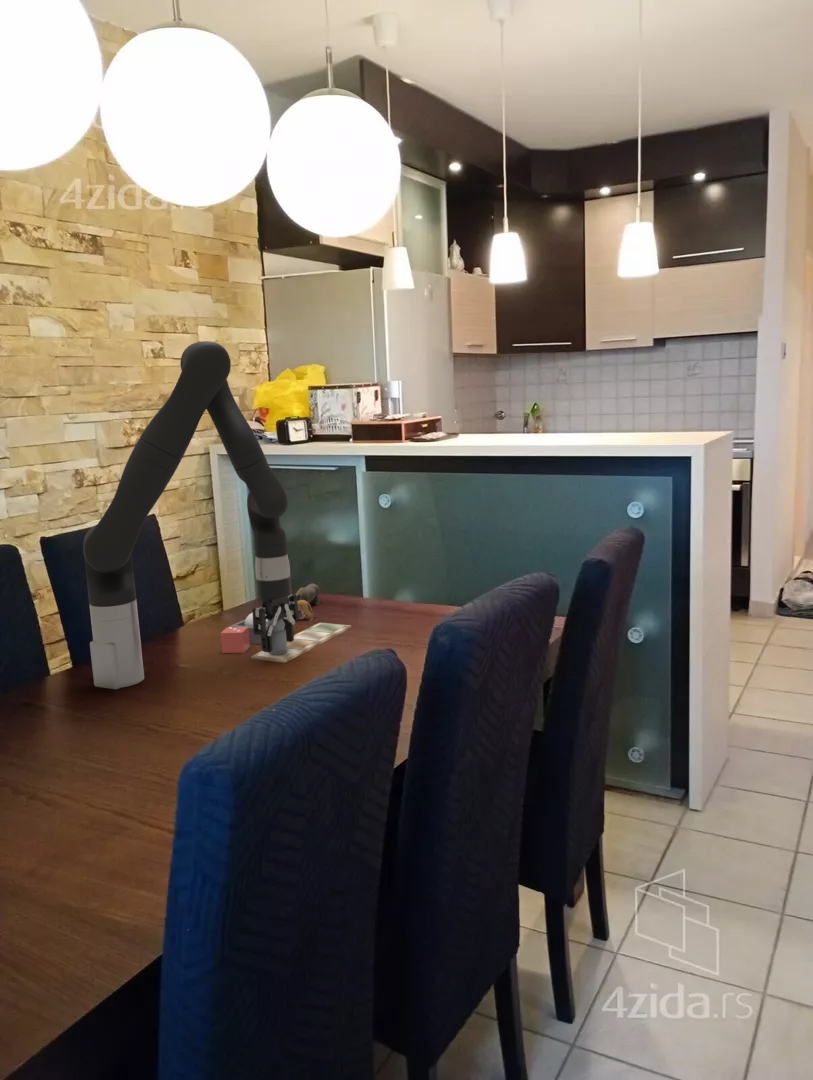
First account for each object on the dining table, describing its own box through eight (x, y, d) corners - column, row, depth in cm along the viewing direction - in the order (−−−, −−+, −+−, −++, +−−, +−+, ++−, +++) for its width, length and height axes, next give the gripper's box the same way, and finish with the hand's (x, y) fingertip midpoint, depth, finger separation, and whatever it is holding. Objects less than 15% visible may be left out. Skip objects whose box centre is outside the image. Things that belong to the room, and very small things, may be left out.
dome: (261, 640, 205) (259, 616, 204) (240, 638, 207) (238, 614, 206) (275, 633, 210) (273, 609, 209) (255, 631, 213) (253, 608, 212)
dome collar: (262, 645, 203) (261, 629, 202) (231, 642, 207) (229, 625, 206) (285, 634, 211) (283, 619, 210) (254, 631, 215) (252, 616, 214)
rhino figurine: (285, 614, 231) (283, 592, 230) (311, 601, 243) (310, 581, 242) (298, 615, 229) (296, 593, 228) (324, 602, 242) (322, 581, 240)
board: (285, 663, 188) (285, 659, 188) (251, 659, 192) (251, 655, 192) (351, 628, 214) (351, 625, 214) (320, 625, 218) (319, 622, 218)
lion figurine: (275, 627, 218) (273, 599, 217) (269, 623, 222) (267, 596, 221) (319, 620, 223) (317, 592, 222) (313, 616, 227) (311, 589, 226)
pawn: (280, 656, 191) (278, 620, 190) (265, 654, 193) (263, 619, 191) (290, 650, 195) (288, 616, 193) (275, 649, 196) (273, 615, 195)
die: (243, 654, 197) (242, 631, 196) (222, 654, 197) (220, 631, 196) (250, 647, 202) (248, 625, 201) (229, 647, 202) (227, 625, 201)
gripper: (268, 583, 183) (274, 657, 186) (305, 569, 195) (310, 638, 198) (239, 581, 186) (245, 654, 189) (277, 567, 199) (282, 636, 201)
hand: (278, 646), depth 193 cm, fingers open, 8 cm apart
